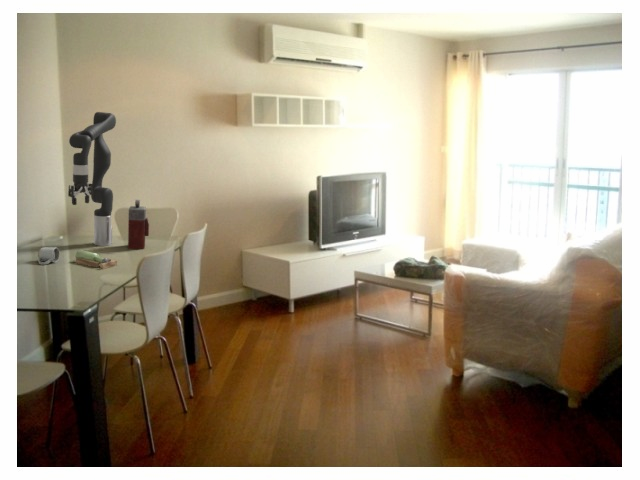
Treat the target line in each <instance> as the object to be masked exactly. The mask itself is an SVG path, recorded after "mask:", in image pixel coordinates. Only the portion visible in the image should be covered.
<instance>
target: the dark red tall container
mask: <svg viewBox="0 0 640 480" xmlns="http://www.w3.org/2000/svg"><path fill="white" fill-rule="evenodd" d="M140 201H141V200H140V199H135V203H134V205H130V206H129V208H128V229H127V230H128V231H127V232H128V233H127V234H128V236H127V239H128V240H127V242H128V243H127V245H128V246H127V249H131V250H144V249H145V248H146V237H149V236H150V220H149V218H148V217H147V208H146V206H140V204H141V203H140Z"/></svg>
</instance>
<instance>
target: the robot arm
mask: <svg viewBox="0 0 640 480" xmlns="http://www.w3.org/2000/svg"><path fill="white" fill-rule="evenodd" d="M92 121H93V124H91V125H88V126H87V127H85V128H84V129H83V130H81V131H77V132H75V133H73V134H72V135H70V137H69V140H68V141H69V142H68V143H69V145H70V146H71V147H72V148H75V149H81V151H80V152H75V153H74V154H73V155H72V161H73V162H72V163H73V166H72V182H73V185H72V184H70V185H68V193H67V194H68V195H67V196H68V197H69V198H71V204H72V205H73V206H76V205H77V197H78V196H79V194H82V193H83V195H84V203H85V204H89V203H90V197H91V200H92V202H93V203H96V204H101V206H100V208H96V209H95V210H94V212H93V222H94V223H93V244H94V245H95V246H97V247H98V246H99V247H101V246H102V247H105V246H111V245H112V244H113V228H112V212H113V207H114V206H113V202H114V193H113V190H112V189H111V188H108V187H104V186H103V181H104V177H105V176H106V174H107V172H108V171H109V169H110V167H111V165H112V164H111V160H112V153H111V150H110V148H109V146H108V144H107V142H106V140H105V139H104V135H103V134H105V133H106V132H108V131H112V130H113V129H114V128H115V127H116V123H117V118H116V116H115V114H113V113H111V112H103V111H96V112H95V113H94V115H93V120H92ZM92 142H94V143H93V161H92V162H93V169H92V181H91V183H89V154H90V150H91V147H92ZM111 243H112V244H111Z"/></svg>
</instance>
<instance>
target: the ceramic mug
mask: <svg viewBox="0 0 640 480" xmlns="http://www.w3.org/2000/svg"><path fill="white" fill-rule="evenodd" d="M37 257H38V260H37V261H38V263H39V265H42V266H44V265H49V264H50V263H52V264H53V263H57V262H58V261H59V259H60V249H59V248H58V247H50V246H49V247H48V246H47V247H41V248H40V249H39V250H38V252H37Z"/></svg>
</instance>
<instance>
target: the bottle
mask: <svg viewBox="0 0 640 480" xmlns="http://www.w3.org/2000/svg"><path fill="white" fill-rule="evenodd" d="M101 257H102V256H100V255H99V253H96V252H95V253H94V252H91V251H85V250H81V249H78V251H77V252H76V254H75V259H76V258H82V259H86V260H90V261H95V262H99V264H102V263H106V262H109V260H108V259H109V258H108V259H107V258H106V257H103V258H101Z"/></svg>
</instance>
